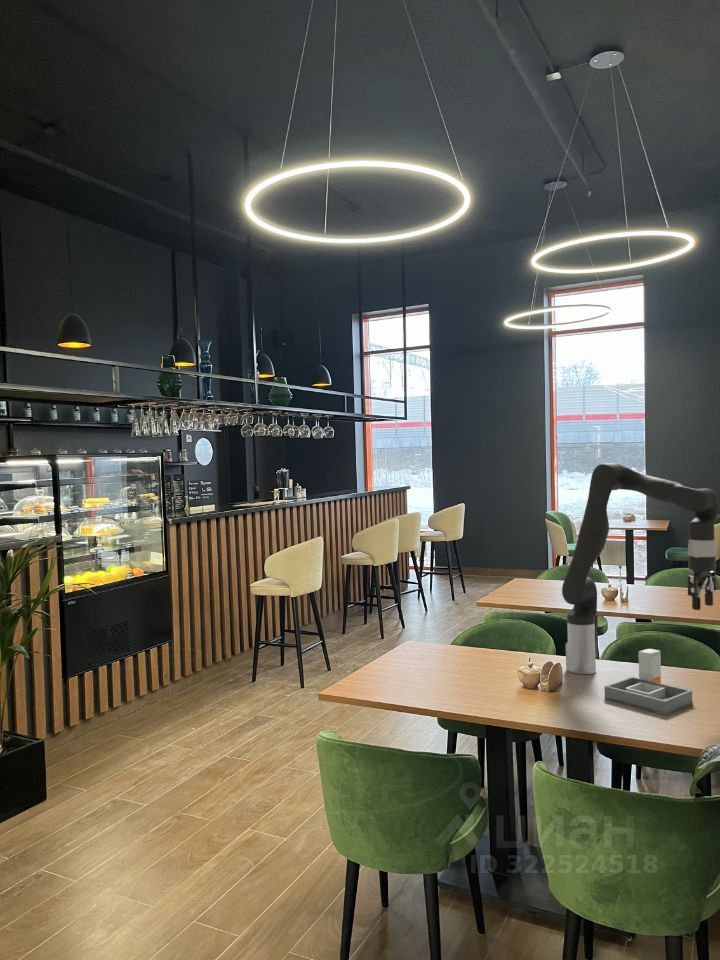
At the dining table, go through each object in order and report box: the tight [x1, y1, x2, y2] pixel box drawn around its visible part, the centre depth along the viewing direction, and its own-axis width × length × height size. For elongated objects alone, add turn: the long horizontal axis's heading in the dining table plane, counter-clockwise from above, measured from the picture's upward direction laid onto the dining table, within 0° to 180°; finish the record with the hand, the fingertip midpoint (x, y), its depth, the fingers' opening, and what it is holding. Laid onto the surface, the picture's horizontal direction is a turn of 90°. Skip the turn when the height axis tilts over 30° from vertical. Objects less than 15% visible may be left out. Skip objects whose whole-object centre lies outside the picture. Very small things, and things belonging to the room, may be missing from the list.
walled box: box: [603, 676, 693, 716], centre depth 219 cm, size 20×15×4 cm
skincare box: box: [638, 648, 662, 684], centre depth 232 cm, size 6×4×12 cm
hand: (702, 607), depth 218 cm, fingers open, 8 cm apart
